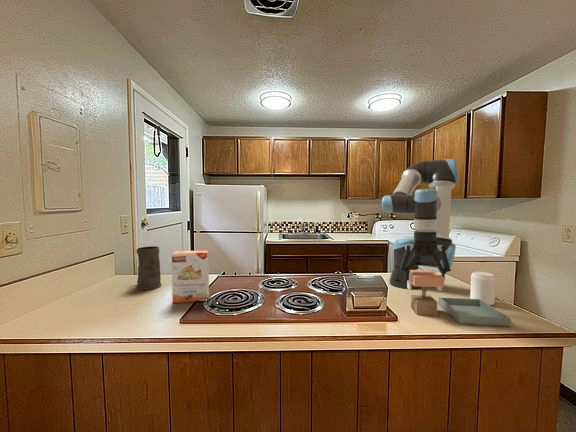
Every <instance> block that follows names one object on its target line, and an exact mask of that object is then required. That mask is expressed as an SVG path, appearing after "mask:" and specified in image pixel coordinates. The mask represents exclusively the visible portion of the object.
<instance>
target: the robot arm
mask: <svg viewBox="0 0 576 432" xmlns="http://www.w3.org/2000/svg"><path fill="white" fill-rule="evenodd" d="M458 171H459V170H458V162H457V160H456V159H454V158H450V159H449V158H448V159H447V158H445V159H437V160H435V159H434V160H423V161H418V162H416V163H414V164H412V165H410V166H409V167H407V168H406V169H405V170H403V172H402V174H401V178H400V181H399V183H398V184H397V186H396V187H395V189H394V191H393V192H392V194H388V195H384V196H383V197H382V199H381V208H382V209H381V210H382V212H384V213H389V214H414V219H413V222H414V223H413V229H414V231H413V237H408V238H399V239H398V238H397V239H396V240H395V241H394V242H393V248H392V250H393V262H392V263H393V268H392V270H391V274H390V277H389V284H390V285H391V286H393V287H396V288H400V289H408V290H409V291H411V290H417V289H422V287H420V286H414V285H413V284H412V283H411V275H412V273H411V272H410V270H416V269H419V267H420V266H422V267H429V268H436V269H438V270H439V271H436V272H437V273H438V274H440V275H441V276H443V277H444V282H445V281H446V278H445V277H446V274H447V272H451V271H452V269H451V267H452V266H453V263H454V259H455V257H456V256H455V255H456V244H455V243H453V239H452V238H450V236H449V235H450V220H451V219H450V217H451V204H452V203H451V201H452V189H454V188H455V187H456V184H457V183H459V182H460V181H459V180H460V178H459V172H458ZM420 184H421V185H425V184H428V185H427V187H428V188H426V189H425V188H422V189H421V188H419V189H416V187H418V186H419V185H420ZM415 189H416V190H415ZM413 193H414V194H413ZM436 289H437V291H439V292H443V287H436Z"/></svg>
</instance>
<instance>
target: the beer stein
mask: <svg viewBox="0 0 576 432" xmlns="http://www.w3.org/2000/svg"><path fill="white" fill-rule="evenodd" d="M136 254H137V258H138V259H137V260H138V261H137V263H138V266H137V280H136V289H137V290H139V289H140V290H139V291H149V290H150V289H151V290H155V289H158V288H160V287H161V286H162V283H161V279H162V278H161V265H160V264H161V262H160V247H159V246H156V245H155V246H142V247H138V248H137V249H136Z"/></svg>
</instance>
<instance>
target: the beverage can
mask: <svg viewBox="0 0 576 432" xmlns="http://www.w3.org/2000/svg"><path fill="white" fill-rule="evenodd" d="M495 293H496V276H494V274H493V273H491V272H490V273H489V272H486V271H473V272H472V273H471V275H470V295H469V296H470V297H469V299H481V300H482V301H484V302H485V303H487V304H489V305H490V306H492V305H494V304H495V298H496V297H495V296H496V295H495Z"/></svg>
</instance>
